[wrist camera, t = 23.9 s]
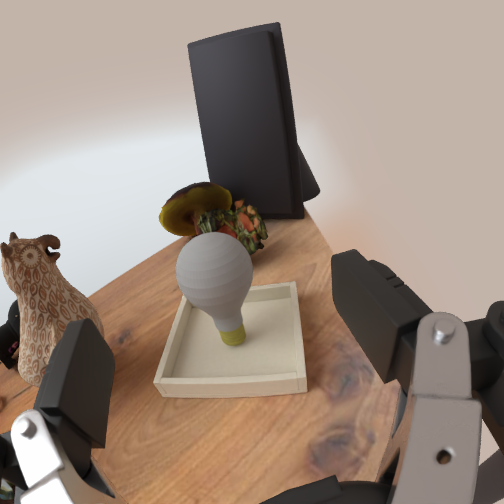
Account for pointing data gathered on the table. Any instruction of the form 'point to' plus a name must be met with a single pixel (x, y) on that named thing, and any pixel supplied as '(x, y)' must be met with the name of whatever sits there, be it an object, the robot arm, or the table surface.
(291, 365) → the ivory tray
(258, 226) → the mushroom
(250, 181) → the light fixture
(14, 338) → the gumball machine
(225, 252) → the light bulb
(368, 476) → the table surface
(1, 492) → the passion flower
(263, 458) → the table surface
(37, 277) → the figurine
